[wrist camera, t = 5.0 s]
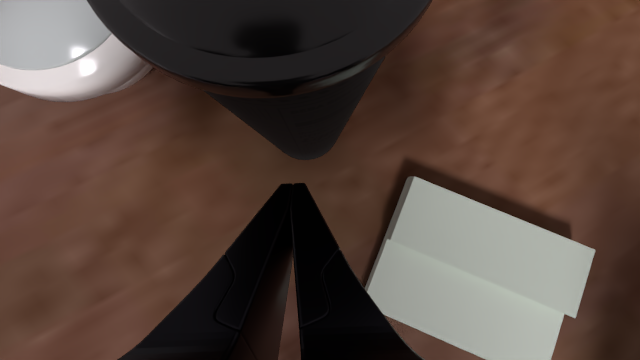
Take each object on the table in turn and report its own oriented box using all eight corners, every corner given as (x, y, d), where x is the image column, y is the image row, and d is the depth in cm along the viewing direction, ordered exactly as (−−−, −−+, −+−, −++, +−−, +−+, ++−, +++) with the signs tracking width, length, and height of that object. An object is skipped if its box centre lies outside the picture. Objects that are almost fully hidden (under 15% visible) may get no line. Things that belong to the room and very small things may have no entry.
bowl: (227, 39, 19) (193, -23, 14) (110, 153, 18) (26, 131, 13) (121, -56, 20) (53, -147, 15) (4, 48, 19) (-112, -11, 14)
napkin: (572, 245, 17) (596, 248, 16) (532, 376, 16) (553, 392, 15) (407, 177, 18) (415, 174, 16) (360, 300, 17) (363, 309, 16)
